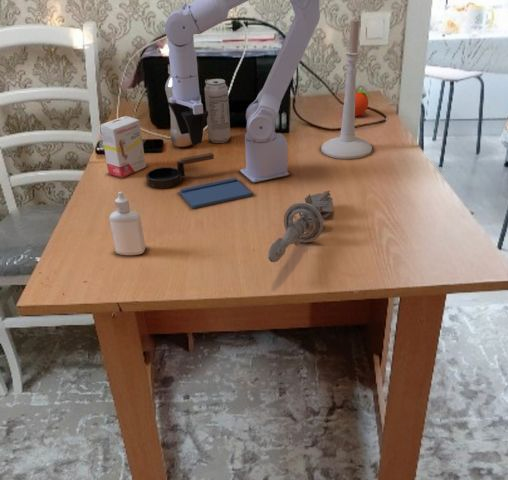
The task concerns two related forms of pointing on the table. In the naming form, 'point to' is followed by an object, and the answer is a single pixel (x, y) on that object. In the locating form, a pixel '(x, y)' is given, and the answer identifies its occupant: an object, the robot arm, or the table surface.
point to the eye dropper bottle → (126, 228)
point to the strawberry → (360, 102)
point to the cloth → (214, 193)
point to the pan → (173, 172)
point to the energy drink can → (217, 110)
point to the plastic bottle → (175, 134)
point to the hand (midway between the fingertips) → (190, 138)
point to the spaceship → (302, 223)
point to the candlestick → (349, 110)
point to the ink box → (123, 146)
